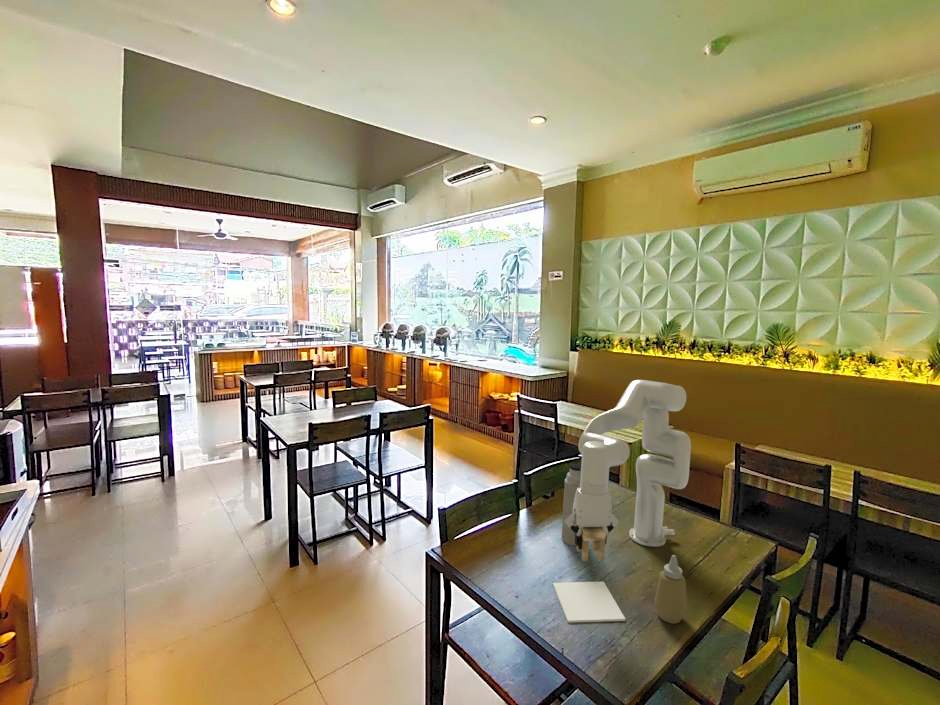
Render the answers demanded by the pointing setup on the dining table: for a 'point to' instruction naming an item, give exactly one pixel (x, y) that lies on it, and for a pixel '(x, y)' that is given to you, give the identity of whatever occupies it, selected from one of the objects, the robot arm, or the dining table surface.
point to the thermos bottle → (570, 501)
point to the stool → (593, 542)
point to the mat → (587, 602)
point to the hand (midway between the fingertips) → (590, 546)
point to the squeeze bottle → (671, 593)
